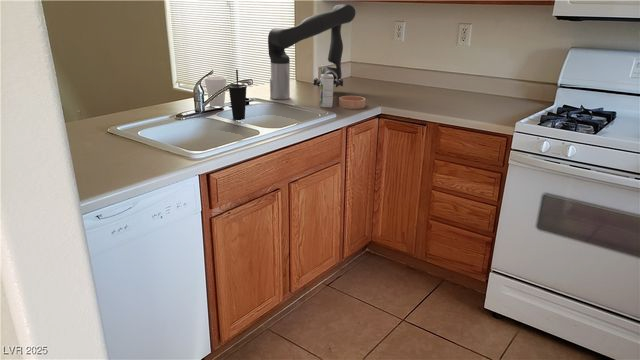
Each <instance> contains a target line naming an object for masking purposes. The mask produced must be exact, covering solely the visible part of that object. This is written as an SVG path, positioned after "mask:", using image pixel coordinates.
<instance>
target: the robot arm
mask: <svg viewBox="0 0 640 360" xmlns="http://www.w3.org/2000/svg"><path fill="white" fill-rule="evenodd" d="M355 17H356V9H355V7H354V6H353V5H351V4H349V3H345V4H343V3H341V4H339V3H338V4H336V5H335V6H333V8H332V10H331V11H330V12H329V11H328V12H321V13H318V14H316V13H315V14H313V15H311V16H309V17H306V18H304V19H303V20H302V21H301V22H300V23H299V24H298V25H296V26H292V27H288V28H281V27H274V28H272V29H271V30H269V32H268V36H267V47H268V56H269V59H270V79H269V88H270V89H269V91H270V92H269V93H270V94H269V95H270V98H269V99H274V100H289V99H290V96H291V91H290V90H291V86H290V82H291V79H290V78H291V76H290V75H291V74H290V73H291V72H290V71H291V69H290V67H291V66H290V65H291V64H290V63H291V61H290V60H291V58H290V57H289V56H290V55H288V54H287V53H286V51H285V49H289V48H290V47H292V46H294V45H296V44H297V43H299V42H301V41H303V40H306V39H309V38H312V37H315V36H317V35H320V34H323V33H324V32H326V31H329V30H331V31H330V45H329V50H328V54H327V56H328V57H327V61H328V62H329V63H331V64H333V65H335V67H333V66H332V67H331V66H325V67H323V68H322V70H321V74H332V75H333V77H334V78H333V88H334V87H335V88H338V87H344V78H342V66H341V65H342V64H341V63H342V57H343V56H342V55H343V51H344V45H343V44H344V43H343V40H342V32H341V31H342V26H343V25H344V24H349V23H351V22H352V21H354V19H355ZM320 84H321V78H318V77H315V78H314V79H313V86H317V87H318V88H320Z"/></svg>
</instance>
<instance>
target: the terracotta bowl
mask: <svg viewBox="0 0 640 360" xmlns="http://www.w3.org/2000/svg"><path fill="white" fill-rule="evenodd" d="M338 106H339V107H340V108H342V109H350V110H351V109H353V110H354V109H355V110H356V109H363V108H366V97H363V96H358V95H343V96H339V97H338Z"/></svg>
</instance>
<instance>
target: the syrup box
mask: <svg viewBox="0 0 640 360" xmlns="http://www.w3.org/2000/svg"><path fill="white" fill-rule="evenodd" d="M333 78H334V77H333V75H332V74H322V73H321V74H320V79H321V84H320V86H319V90H320V91H319V107H320V108H333V98H334V87H333Z"/></svg>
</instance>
